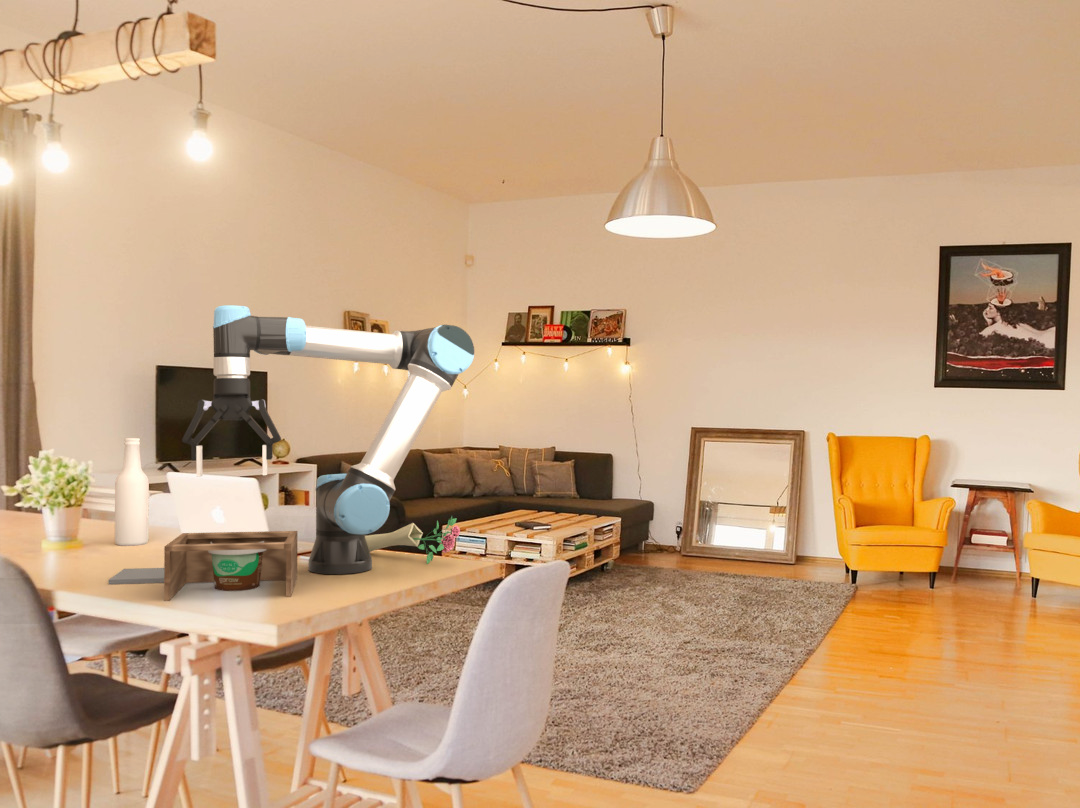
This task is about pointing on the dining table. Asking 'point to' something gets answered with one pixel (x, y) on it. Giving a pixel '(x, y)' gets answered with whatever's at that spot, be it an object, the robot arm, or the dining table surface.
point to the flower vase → (414, 538)
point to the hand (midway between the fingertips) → (232, 475)
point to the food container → (237, 569)
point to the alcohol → (131, 499)
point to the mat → (138, 576)
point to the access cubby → (194, 562)
